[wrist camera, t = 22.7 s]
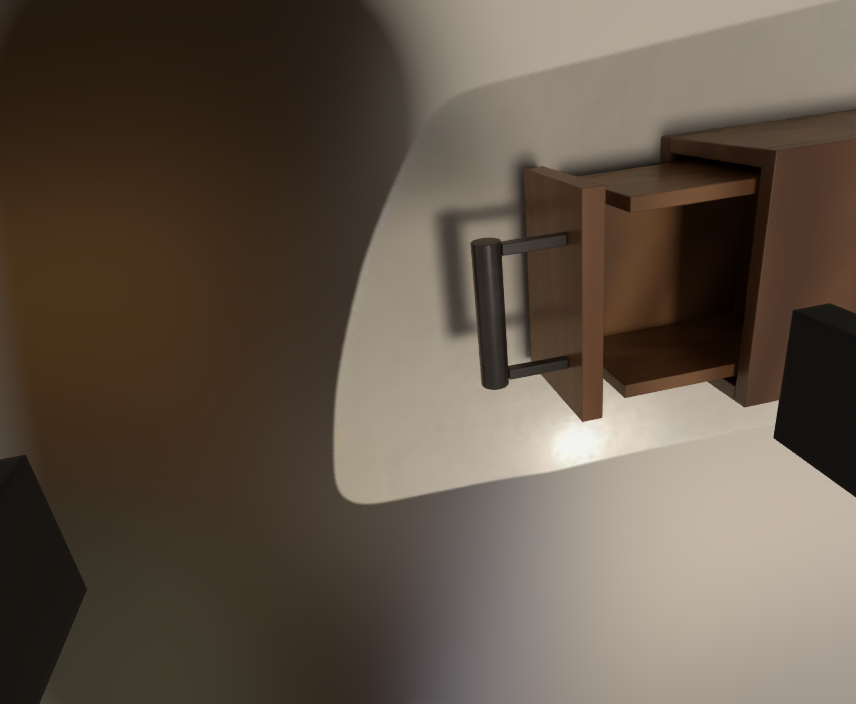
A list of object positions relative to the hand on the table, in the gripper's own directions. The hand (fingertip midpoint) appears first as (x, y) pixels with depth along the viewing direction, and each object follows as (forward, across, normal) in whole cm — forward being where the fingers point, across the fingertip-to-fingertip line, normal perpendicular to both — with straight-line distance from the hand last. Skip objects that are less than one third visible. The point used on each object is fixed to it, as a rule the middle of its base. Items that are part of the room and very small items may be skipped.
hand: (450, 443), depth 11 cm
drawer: (+26, +15, -6) cm, 31 cm away
